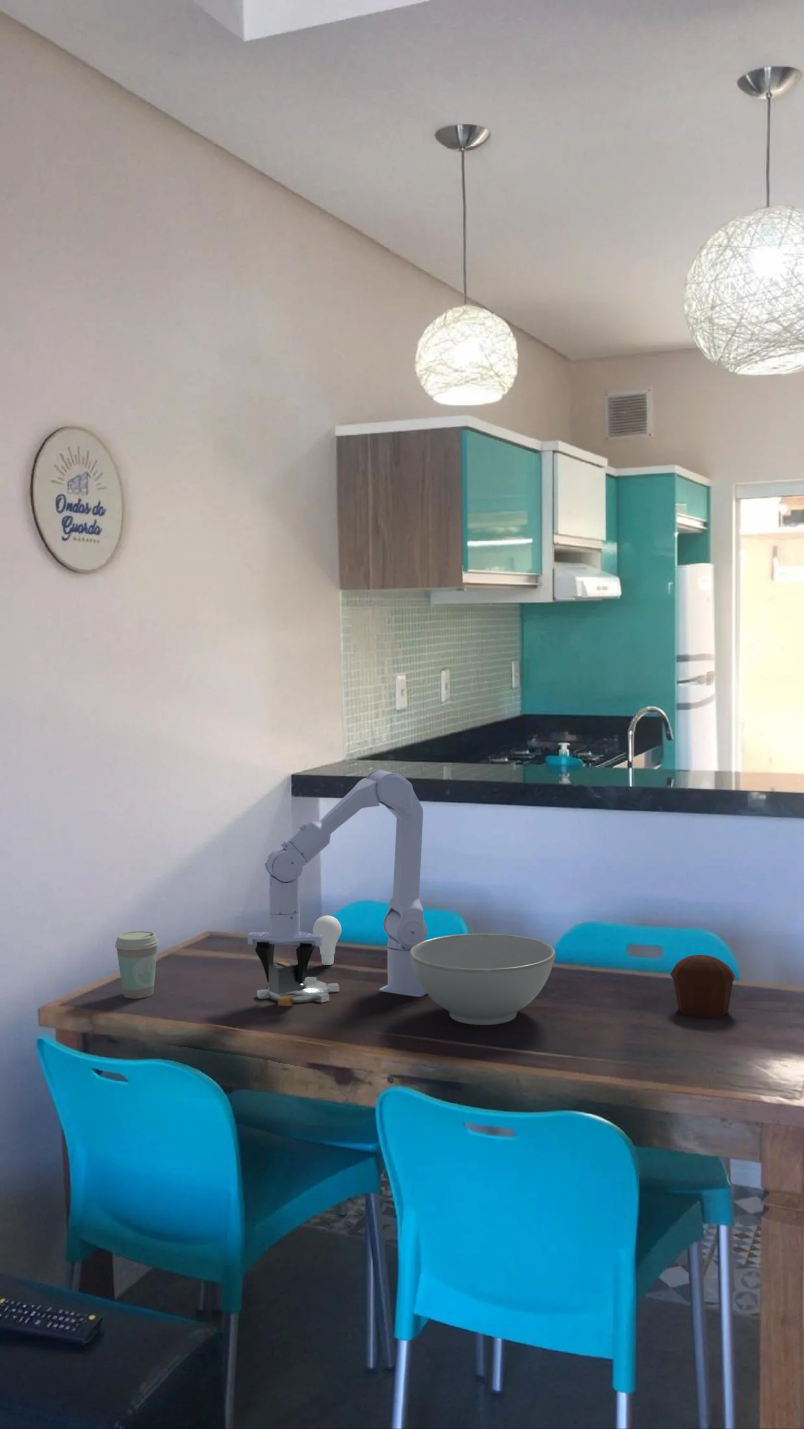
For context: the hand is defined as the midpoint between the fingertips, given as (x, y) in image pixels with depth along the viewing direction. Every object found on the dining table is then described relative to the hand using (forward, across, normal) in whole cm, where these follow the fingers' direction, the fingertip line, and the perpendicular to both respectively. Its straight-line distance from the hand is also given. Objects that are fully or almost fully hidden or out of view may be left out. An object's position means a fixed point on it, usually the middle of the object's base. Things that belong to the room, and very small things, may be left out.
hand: (286, 981), depth 229 cm
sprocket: (+4, -1, -5) cm, 7 cm away
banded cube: (+2, 0, +1) cm, 2 cm away
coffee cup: (+4, +31, -2) cm, 32 cm away
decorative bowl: (+4, -38, +2) cm, 39 cm away
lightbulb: (+4, -1, -28) cm, 28 cm away
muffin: (+4, -78, -6) cm, 79 cm away
